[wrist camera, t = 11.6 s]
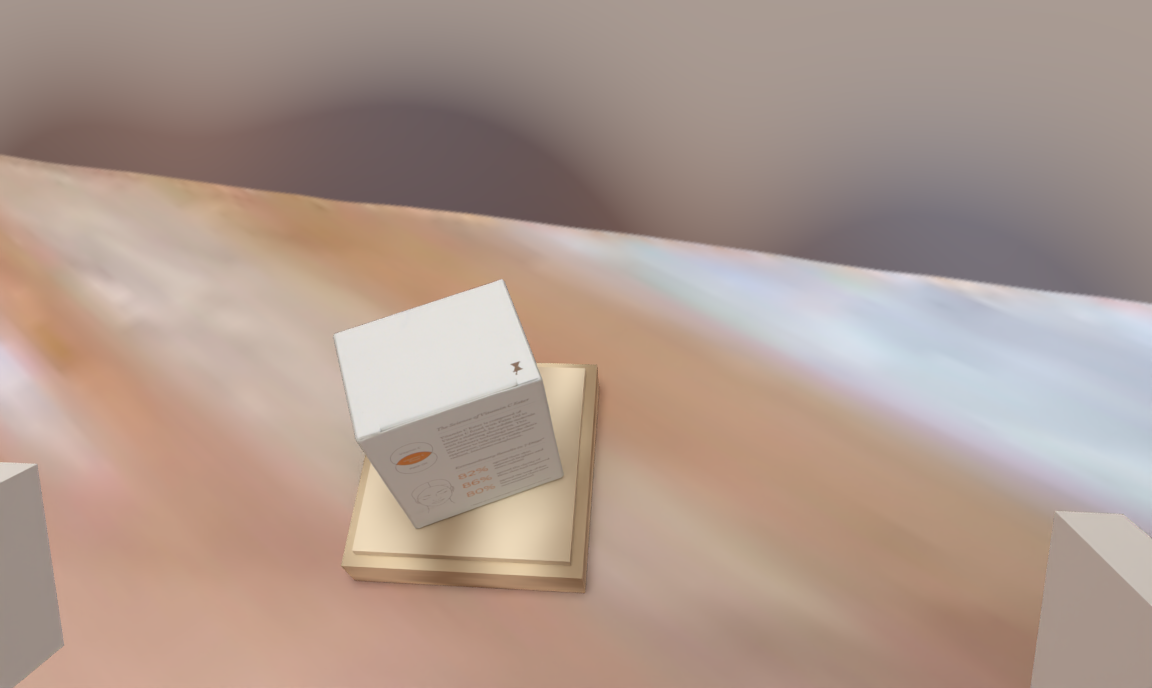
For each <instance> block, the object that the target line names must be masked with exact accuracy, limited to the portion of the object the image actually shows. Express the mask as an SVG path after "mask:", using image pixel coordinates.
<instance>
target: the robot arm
mask: <svg viewBox="0 0 1152 688" xmlns="http://www.w3.org/2000/svg"><path fill="white" fill-rule="evenodd" d="M63 646H64V641H63V634H62V627H61V620H60V614H59V607H58V600H57V593H56V587H55V580H54V573H53V566H52V560H51V553H50V546H49V539H48V533H47V526H46V519H45V513H44V506H43V499H42V492H41V486H40V479H39V472H38V465H37V464H27V463H5V462H0V688H13V687H14V686H16V685H17V684H18V683H19V682H21V681H22V680H23V679H24V678H25V677H27V676H28V675H29V674H30V673H31V672H33V671H34V670H35V669H36V668H37V667H39V666H40V665H41V664H42V663H43V662H45V661H46V660H47V659H48V658H50V657H51V656H52V655H53V654H54V653H56V652H57V651H58V650H59V649H60V648H62V647H63ZM1030 688H1152V538H1151V537H1149V536H1148V535H1147V534H1146V533H1145V532H1144V531H1142V530H1141V529H1140V528H1139V527H1138V526H1136V525H1135V524H1134V523H1133V522H1132V521H1130V520H1129V519H1128V518H1127V517H1126V516H1125V515H1123V514H1109V513H1088V512H1066V511H1055V514H1054V521H1053V528H1052V535H1051V543H1050V550H1049V557H1048V564H1047V572H1046V579H1045V586H1044V593H1043V601H1042V608H1041V615H1040V622H1039V630H1038V637H1037V644H1036V651H1035V659H1034V666H1033V673H1032V680H1031V687H1030Z"/></svg>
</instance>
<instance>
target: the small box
mask: <svg viewBox="0 0 1152 688" xmlns="http://www.w3.org/2000/svg"><path fill="white" fill-rule="evenodd" d="M333 339H334V343H335V348H336V353H337V357H338V362H339V367H340V371H341V376H342V380H343V385H344V389H345V394H346V399H347V403H348V408H349V412H350V417H351V421H352V426H353V430H354V435H355V439H356V442H357V443H358V444H359V446H360V447H361V449H362V450H363V452H364V453H365V455H366V456H367V458H368V459H369V461H370V462H371V464H372V465H373V467H374V468H375V470H376V471H377V472H378V474H379V476H380V477H381V479H382V480H383V482H384V483H385V485H386V486H387V487H388V489H389V491H390V492H391V493H392V495H393V496H394V498H395V499H396V501H397V502H398V504H399V505H400V507H401V508H402V509H403V511H404V512H405V514H406V515H407V517H408V518H409V520H410V521H411V523H412V524H413V526H414V527H415V528H416V529H418V528H422V527H424V526H427V525H430V524H432V523H435V522H438V521H440V520H443V519H446V518H449V517H452V516H455V515H457V514H460V513H463V512H466V511H469V510H471V509H474V508H477V507H480V506H483V505H485V504H488V503H491V502H494V501H497V500H500V499H502V498H505V497H508V496H511V495H514V494H516V493H519V492H522V491H525V490H528V489H530V488H533V487H536V486H539V485H542V484H545V483H547V482H550V481H553V480H556V479H559V478H561V477H563V475H564V473H563V468H562V464H561V460H560V456H559V452H558V447H557V443H556V439H555V435H554V430H553V425H552V420H551V415H550V410H549V405H548V401H547V397H546V392H545V388H544V384H543V380H542V377H541V374H540V372H539V369H538V367H537V364H536V361H535V359H534V356H533V353H532V351H531V348H530V346H529V343H528V340H527V338H526V335H525V333H524V330H523V327H522V325H521V322H520V320H519V317H518V315H517V312H516V310H515V307H514V305H513V302H512V300H511V297H510V294H509V292H508V289H507V286H506V284H505V282H504V281H503V280H502V279H500V280H497V281H494V282H491V283H488V284H485V285H482V286H479V287H476V288H473V289H470V290H466V291H463V292H460V293H458V294H455V295H451V296H448V297H445V298H442V299H439V300H436V301H433V302H430V303H427V304H424V305H421V306H418V307H414V308H412V309H409V310H406V311H402V312H400V313H396V314H393V315H390V316H387V317H384V318H381V319H378V320H375V321H372V322H369V323H366V324H362V325H359V326H356V327H353V328H350V329H347V330H344V331H341V332H337V333H334V335H333Z"/></svg>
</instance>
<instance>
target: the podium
mask: <svg viewBox="0 0 1152 688" xmlns="http://www.w3.org/2000/svg"><path fill="white" fill-rule="evenodd" d="M536 364H537V367H538V369H539V372H540V374H541V377H542V380H543V384H544V388H545V392H546V397H547V401H548V405H549V410H550V415H551V420H552V425H553V430H554V435H555V439H556V443H557V447H558V452H559V456H560V460H561V464H562V468H563V473H564V475H563V477H561V478H559V479H556V480H553V481H550V482H547V483H545V484H542V485H539V486H536V487H533V488H530V489H528V490H525V491H522V492H519V493H516V494H514V495H511V496H508V497H505V498H502V499H500V500H497V501H494V502H491V503H488V504H485V505H483V506H480V507H477V508H474V509H471V510H469V511H466V512H463V513H460V514H457V515H455V516H452V517H449V518H446V519H443V520H440V521H438V522H435V523H432V524H430V525H427V526H424V527H422V528H418V529H416V528H415V527H414V526H413V524H412V523H411V521H410V520H409V518H408V517H407V515H406V514H405V512H404V511H403V509H402V508H401V507H400V505H399V504H398V502H397V501H396V499H395V498H394V496H393V495H392V493H391V492H390V491H389V489H388V487H387V486H386V485H385V483H384V482H383V480H382V479H381V477H380V476H379V474H378V472H377V471H376V470H375V468H374V467H373V465H372V464H371V462H370V461H369V459H368V458H367V456H366V455H365V459H364V464H363V468H362V473H361V478H360V482H359V487H358V491H357V496H356V500H355V505H354V509H353V514H352V519H351V523H350V528H349V532H348V537H347V541H346V546H345V550H344V555H343V560H342V564H341V566H342V567H343V568H344V569H345V571H346V572H347V573H348V574H349V575H350V576H351V577H352V578H353V579H354V580H356V581H374V582H393V583H411V584H429V585H448V586H466V587H485V588H503V589H521V590H540V591H558V592H577V593H585V586H586V572H587V557H588V542H589V527H590V513H591V498H592V483H593V469H594V454H595V439H596V425H597V410H598V395H599V379H598V368H597V365H588V364H554V363H536Z"/></svg>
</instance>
